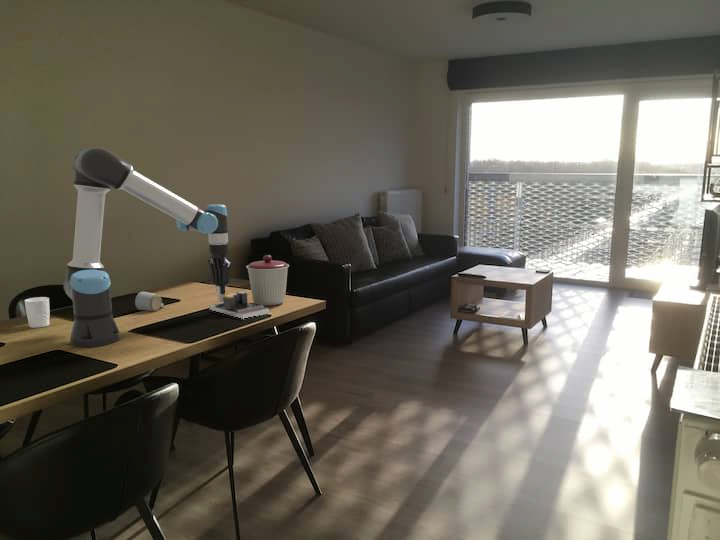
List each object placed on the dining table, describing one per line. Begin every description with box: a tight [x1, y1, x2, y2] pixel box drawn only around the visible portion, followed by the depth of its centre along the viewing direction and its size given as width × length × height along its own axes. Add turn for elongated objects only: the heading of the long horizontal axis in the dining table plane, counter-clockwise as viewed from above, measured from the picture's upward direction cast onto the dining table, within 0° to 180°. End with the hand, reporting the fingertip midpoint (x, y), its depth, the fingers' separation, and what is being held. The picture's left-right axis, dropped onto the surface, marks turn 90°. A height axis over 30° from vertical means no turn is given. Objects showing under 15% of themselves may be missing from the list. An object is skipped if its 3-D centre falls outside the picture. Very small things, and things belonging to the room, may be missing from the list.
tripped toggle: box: [223, 294, 235, 309], centre depth 226 cm, size 3×4×5 cm, turn 48°
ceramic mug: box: [134, 291, 165, 312], centre depth 235 cm, size 11×8×8 cm
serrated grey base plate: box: [209, 290, 270, 320], centre depth 229 cm, size 13×22×7 cm, turn 48°
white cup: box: [24, 296, 51, 329], centre depth 211 cm, size 8×8×10 cm
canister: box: [245, 254, 290, 307], centre depth 243 cm, size 18×18×21 cm
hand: (221, 301), depth 230 cm, fingers closed
